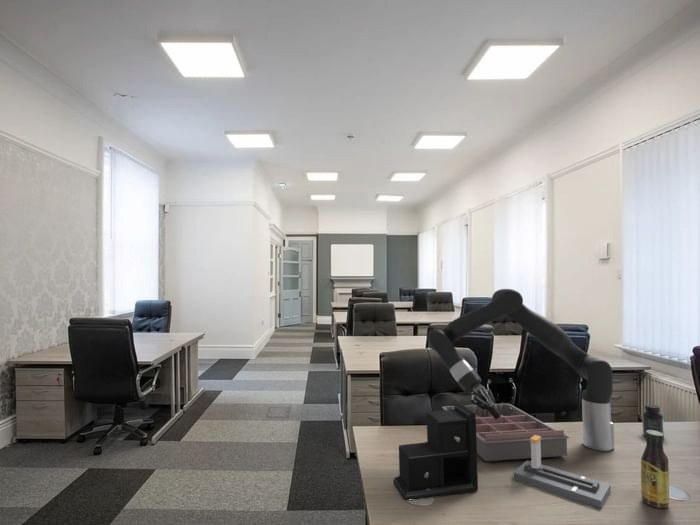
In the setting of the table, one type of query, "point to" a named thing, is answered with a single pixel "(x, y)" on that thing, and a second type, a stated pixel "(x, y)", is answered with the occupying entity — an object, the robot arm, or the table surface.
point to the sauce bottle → (655, 471)
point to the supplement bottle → (652, 419)
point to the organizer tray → (513, 434)
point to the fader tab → (536, 452)
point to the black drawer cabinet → (441, 457)
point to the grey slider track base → (564, 483)
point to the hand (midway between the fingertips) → (498, 417)
